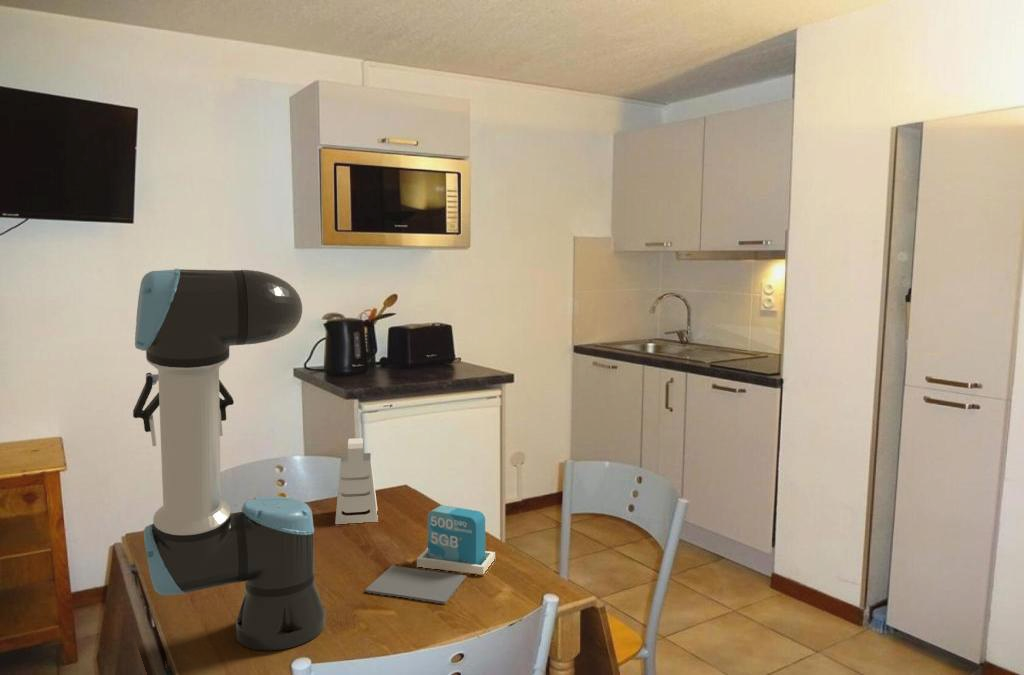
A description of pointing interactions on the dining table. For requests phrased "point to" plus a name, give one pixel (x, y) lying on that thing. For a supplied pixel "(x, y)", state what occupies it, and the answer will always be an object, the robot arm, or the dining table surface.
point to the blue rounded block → (456, 535)
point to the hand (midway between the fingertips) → (187, 438)
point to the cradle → (455, 563)
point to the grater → (356, 485)
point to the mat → (416, 584)
